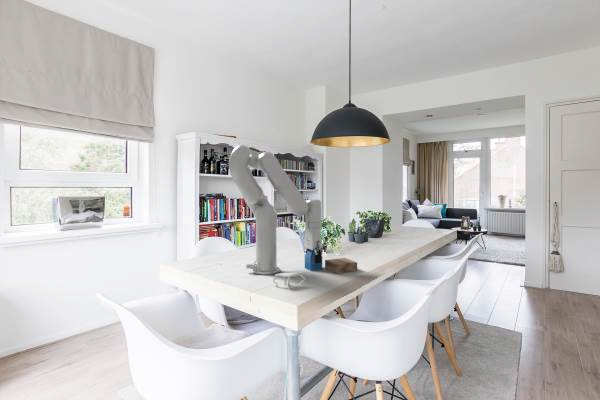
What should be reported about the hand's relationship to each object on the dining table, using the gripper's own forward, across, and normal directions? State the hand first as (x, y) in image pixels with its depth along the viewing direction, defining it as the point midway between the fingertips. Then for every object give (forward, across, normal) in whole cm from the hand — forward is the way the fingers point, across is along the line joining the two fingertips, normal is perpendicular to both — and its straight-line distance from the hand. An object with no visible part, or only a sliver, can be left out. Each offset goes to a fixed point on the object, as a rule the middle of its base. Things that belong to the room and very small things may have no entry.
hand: (313, 260), depth 159 cm
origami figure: (+4, +21, -21) cm, 30 cm away
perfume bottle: (+4, 0, 0) cm, 4 cm away
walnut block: (+4, +7, +11) cm, 14 cm away
